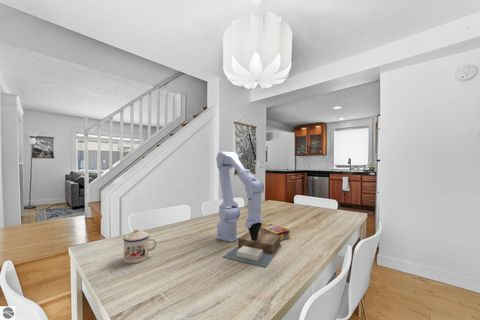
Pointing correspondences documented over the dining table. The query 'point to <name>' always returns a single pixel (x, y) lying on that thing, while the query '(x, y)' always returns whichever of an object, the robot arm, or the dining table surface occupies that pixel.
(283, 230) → the candy box
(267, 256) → the slate mat
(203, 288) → the dining table surface
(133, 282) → the dining table surface
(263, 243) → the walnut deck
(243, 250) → the cream rectangular block
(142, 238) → the teacup with lid
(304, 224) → the dining table surface
